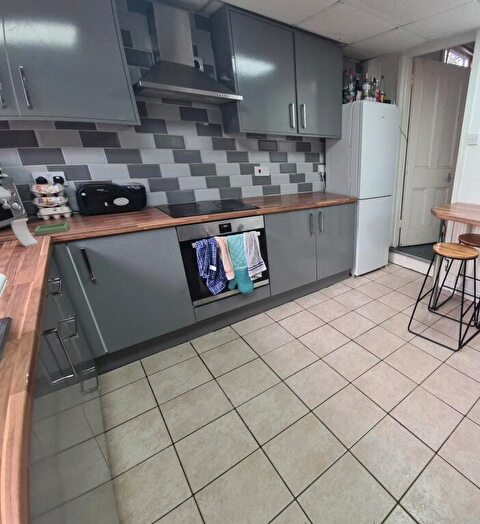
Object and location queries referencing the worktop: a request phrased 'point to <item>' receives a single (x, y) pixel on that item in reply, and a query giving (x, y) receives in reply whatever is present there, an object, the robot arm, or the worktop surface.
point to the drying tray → (51, 228)
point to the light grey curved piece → (23, 232)
